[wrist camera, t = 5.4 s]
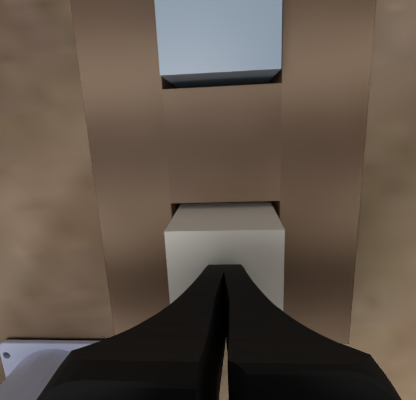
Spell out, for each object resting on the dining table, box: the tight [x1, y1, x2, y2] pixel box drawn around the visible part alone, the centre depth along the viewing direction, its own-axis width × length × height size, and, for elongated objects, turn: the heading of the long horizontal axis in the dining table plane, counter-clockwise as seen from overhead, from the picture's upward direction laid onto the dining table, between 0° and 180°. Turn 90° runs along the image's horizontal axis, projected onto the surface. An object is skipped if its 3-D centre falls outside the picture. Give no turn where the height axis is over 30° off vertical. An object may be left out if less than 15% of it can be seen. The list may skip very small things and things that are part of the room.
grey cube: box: [154, 0, 282, 88], centre depth 12 cm, size 4×4×4 cm
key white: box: [164, 202, 285, 311], centre depth 14 cm, size 4×4×4 cm
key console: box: [70, 0, 376, 344], centre depth 15 cm, size 20×12×4 cm, turn 2°
